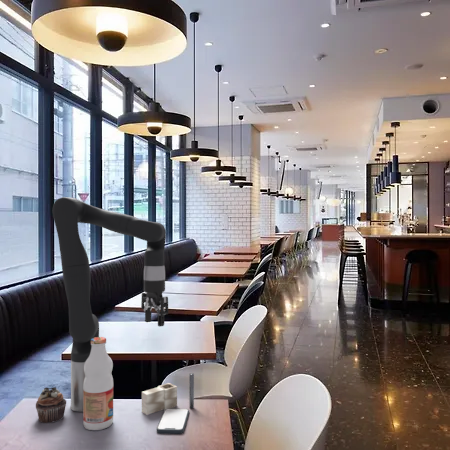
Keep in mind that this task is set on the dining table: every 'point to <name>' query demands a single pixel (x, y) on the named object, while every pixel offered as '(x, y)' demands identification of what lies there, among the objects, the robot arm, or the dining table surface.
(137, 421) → the dining table surface
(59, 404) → the cupcake
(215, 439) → the dining table surface
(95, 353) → the fruit juice
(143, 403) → the open-ended tube with peg
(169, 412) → the smartphone
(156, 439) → the dining table surface
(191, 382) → the post
